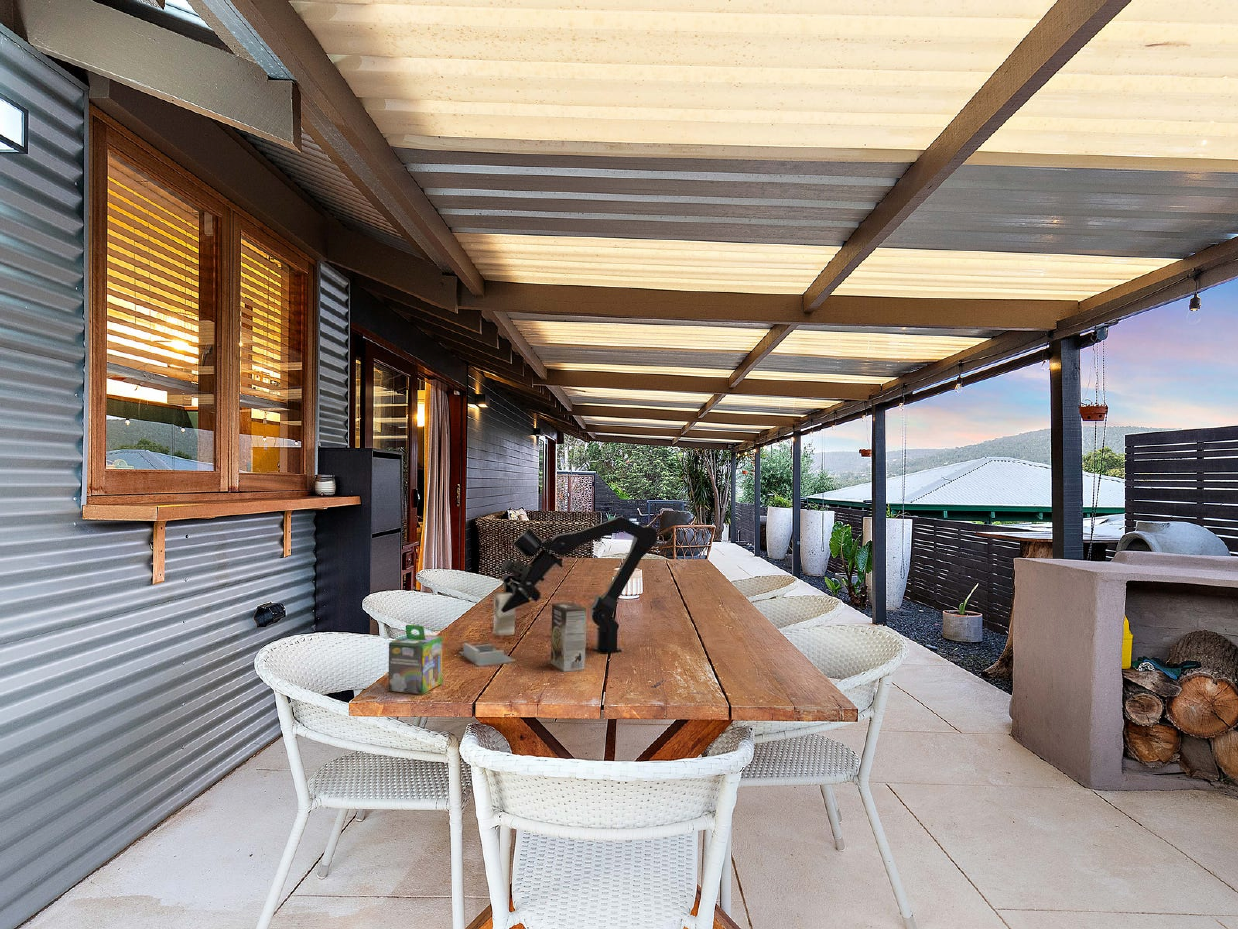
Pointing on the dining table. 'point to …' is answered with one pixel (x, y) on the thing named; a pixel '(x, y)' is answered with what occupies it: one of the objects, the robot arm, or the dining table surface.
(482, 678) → the dining table surface
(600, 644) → the robot arm
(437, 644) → the chalk box
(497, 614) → the link block
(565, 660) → the coffee box
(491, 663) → the keeper bracket
